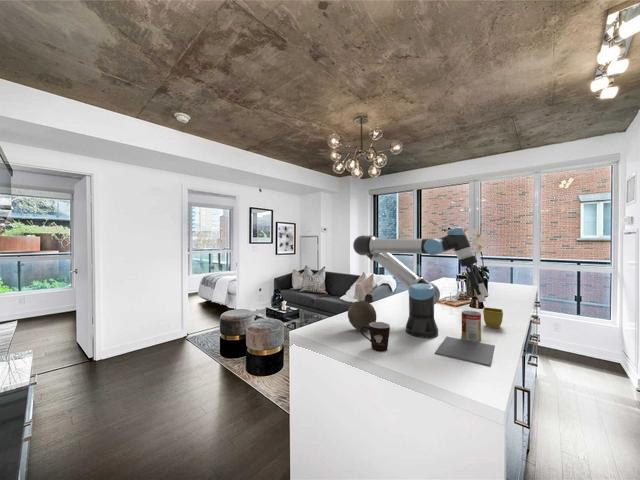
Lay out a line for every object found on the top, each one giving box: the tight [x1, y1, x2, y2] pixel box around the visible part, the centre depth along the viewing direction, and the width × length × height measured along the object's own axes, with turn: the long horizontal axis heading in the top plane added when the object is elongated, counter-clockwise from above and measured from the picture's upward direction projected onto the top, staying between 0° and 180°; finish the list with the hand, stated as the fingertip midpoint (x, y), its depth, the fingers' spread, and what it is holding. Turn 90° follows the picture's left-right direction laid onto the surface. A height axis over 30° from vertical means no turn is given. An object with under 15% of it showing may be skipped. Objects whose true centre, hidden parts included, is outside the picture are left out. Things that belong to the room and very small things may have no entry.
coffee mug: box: [359, 321, 391, 353], centre depth 115 cm, size 12×9×10 cm
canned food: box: [461, 310, 482, 342], centre depth 126 cm, size 8×8×12 cm
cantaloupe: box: [347, 300, 377, 332], centre depth 136 cm, size 14×14×15 cm
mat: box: [434, 336, 496, 367], centre depth 112 cm, size 19×23×1 cm
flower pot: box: [482, 306, 504, 329], centre depth 143 cm, size 9×9×9 cm
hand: (484, 298), depth 131 cm, fingers open, 13 cm apart
